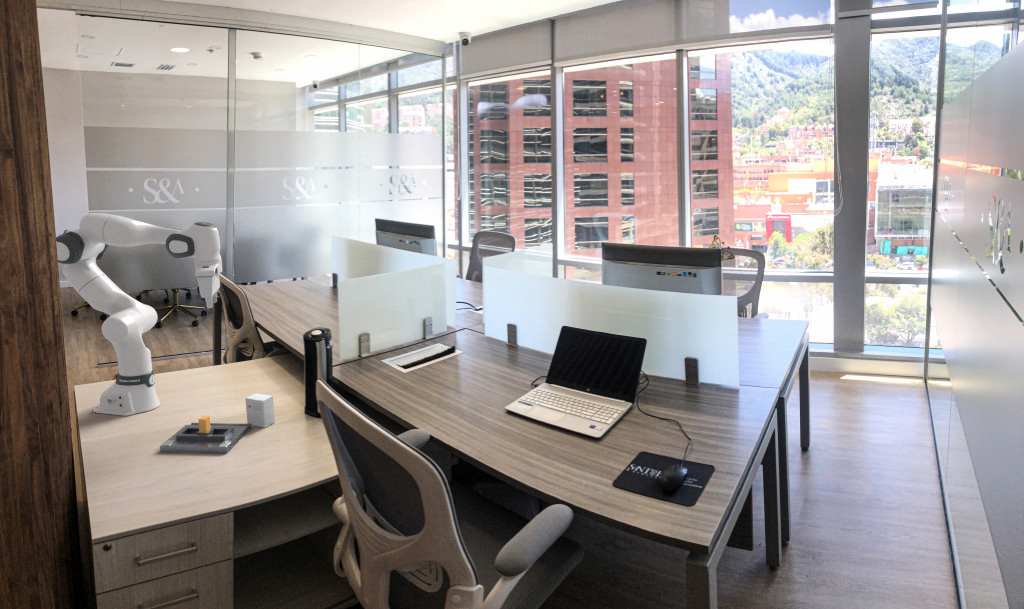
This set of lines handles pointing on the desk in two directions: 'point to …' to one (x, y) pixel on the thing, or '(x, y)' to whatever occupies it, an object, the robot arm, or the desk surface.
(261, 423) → the small box
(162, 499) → the desk surface
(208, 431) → the lever
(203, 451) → the breaker panel
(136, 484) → the desk surface
